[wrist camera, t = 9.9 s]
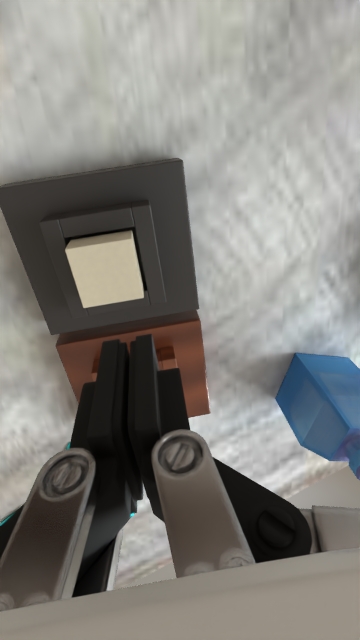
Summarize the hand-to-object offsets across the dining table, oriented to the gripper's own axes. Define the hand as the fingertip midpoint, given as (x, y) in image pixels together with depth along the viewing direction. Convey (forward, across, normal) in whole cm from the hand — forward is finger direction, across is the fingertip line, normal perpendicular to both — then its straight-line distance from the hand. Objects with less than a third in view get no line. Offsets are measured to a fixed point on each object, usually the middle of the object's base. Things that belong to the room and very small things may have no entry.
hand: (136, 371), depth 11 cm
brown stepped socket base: (+16, +2, +12) cm, 20 cm away
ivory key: (+12, +2, 0) cm, 12 cm away
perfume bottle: (+16, -16, +18) cm, 29 cm away
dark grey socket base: (+16, +2, 0) cm, 16 cm away
